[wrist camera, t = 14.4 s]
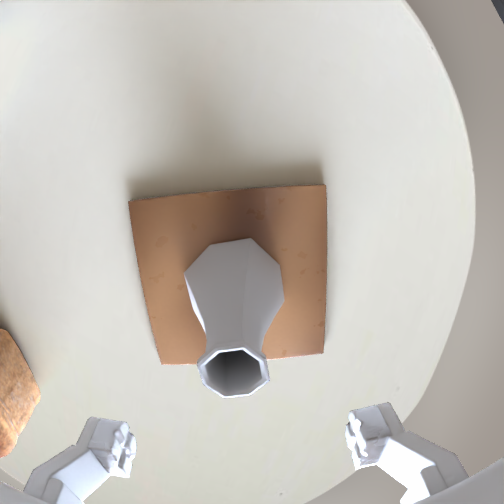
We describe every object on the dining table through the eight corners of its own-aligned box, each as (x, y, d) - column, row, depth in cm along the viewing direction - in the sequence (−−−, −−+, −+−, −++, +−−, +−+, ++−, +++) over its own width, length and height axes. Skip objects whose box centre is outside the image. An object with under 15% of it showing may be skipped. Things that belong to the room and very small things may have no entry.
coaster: (324, 184, 21) (326, 184, 20) (321, 349, 25) (323, 353, 24) (130, 200, 21) (127, 201, 20) (162, 361, 25) (161, 365, 24)
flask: (256, 219, 21) (271, 270, 11) (299, 302, 23) (335, 390, 13) (167, 266, 22) (122, 342, 12) (217, 341, 24) (208, 438, 14)
